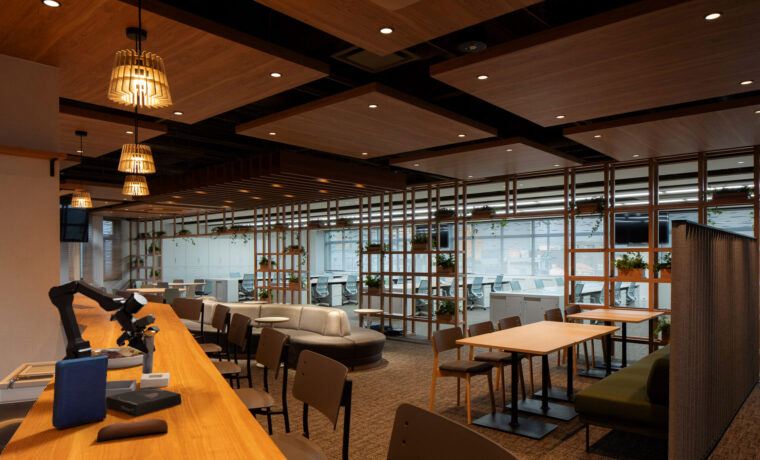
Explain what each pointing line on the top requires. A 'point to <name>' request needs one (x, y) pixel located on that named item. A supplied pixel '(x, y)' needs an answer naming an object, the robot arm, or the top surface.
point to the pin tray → (119, 387)
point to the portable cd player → (143, 401)
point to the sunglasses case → (132, 429)
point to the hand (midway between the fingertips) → (151, 352)
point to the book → (80, 391)
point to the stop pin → (148, 357)
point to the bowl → (120, 356)
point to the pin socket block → (154, 380)
